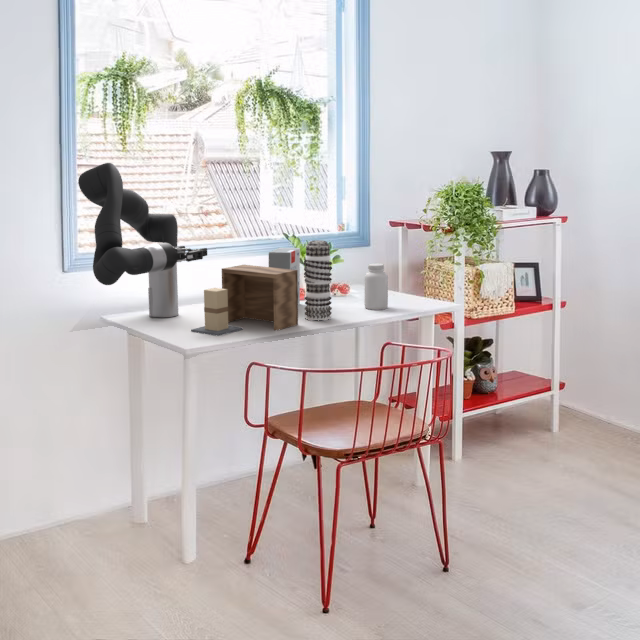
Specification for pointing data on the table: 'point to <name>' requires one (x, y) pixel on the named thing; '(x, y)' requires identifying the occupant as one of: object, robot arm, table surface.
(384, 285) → the pill bottle
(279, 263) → the hard drive box
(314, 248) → the decorative candle
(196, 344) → the table surface
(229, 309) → the cubby
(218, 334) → the mat
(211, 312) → the block
